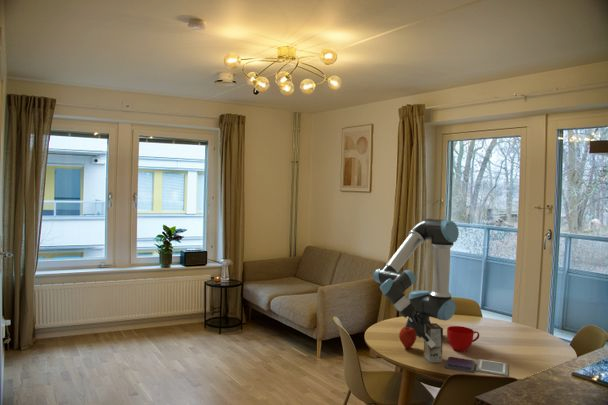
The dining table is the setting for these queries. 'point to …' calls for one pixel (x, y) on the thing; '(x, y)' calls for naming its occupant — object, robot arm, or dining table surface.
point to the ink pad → (460, 364)
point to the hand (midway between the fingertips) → (435, 342)
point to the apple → (407, 336)
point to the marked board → (492, 367)
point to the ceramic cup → (460, 337)
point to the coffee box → (437, 336)
